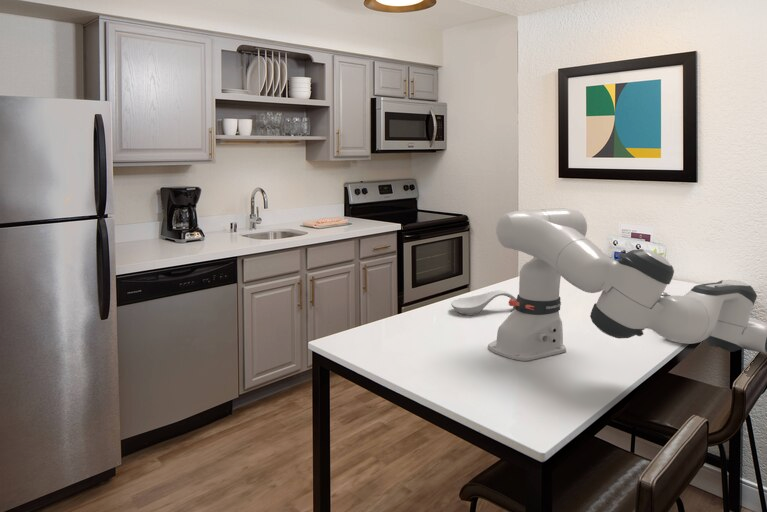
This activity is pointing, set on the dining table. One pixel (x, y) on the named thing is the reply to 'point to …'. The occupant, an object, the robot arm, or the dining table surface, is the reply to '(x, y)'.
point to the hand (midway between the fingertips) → (668, 311)
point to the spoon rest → (477, 302)
